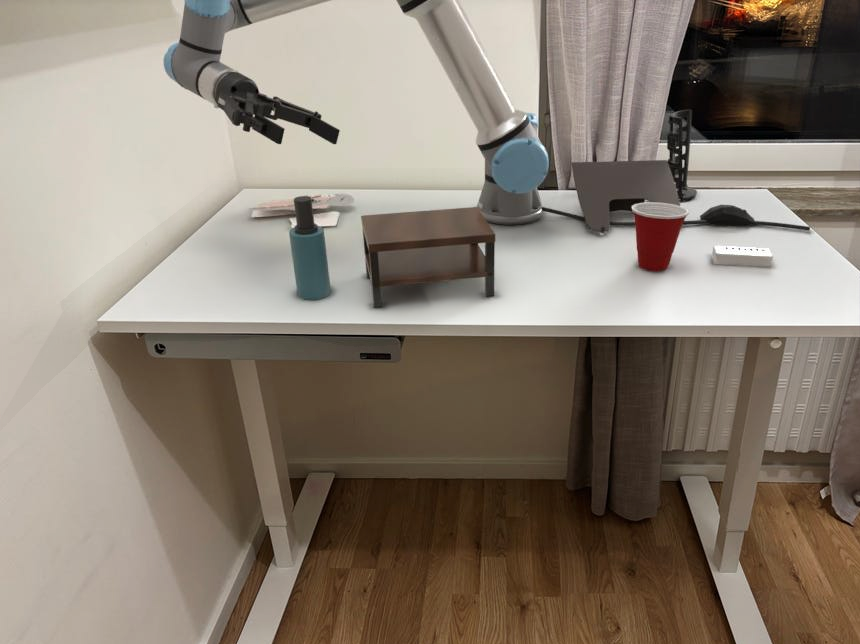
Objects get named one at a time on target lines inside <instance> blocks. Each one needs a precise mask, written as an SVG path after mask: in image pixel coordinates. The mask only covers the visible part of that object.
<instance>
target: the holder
mask: <svg viewBox="0 0 860 644" xmlns="http://www.w3.org/2000/svg"><path fill="white" fill-rule="evenodd" d="M683 118H686V124H685V125H683ZM692 119H693V110H692V109H683V110H678V111H674V112H673V113H671V114H670V115H669V116H668V121H667V123H668V124H669V132H668V133H667V134H666V135H667V137H666V139H667V140H666V143H667V144H666V149H667V150H668V152H669V154H668V155H669V157H668V159H667V162H668V165H669V167H670V170H671V173H672V176H673V179H674V183H675V186H676V190H677V194H678V197H679V201H680V202H687V201H689V200H691V199H693V198H695V197H696V196H697V194H698V191H697V189H695V188H693V187H690V186H688V175H689V162H690V149H691V137H692V135H691V134H692V123H693V122H692V121H693V120H692ZM677 126H678V127H677ZM684 132H685V139H683V133H684ZM683 147H685V149H684V153H683ZM683 161H684V162H683ZM677 175H678V177H677Z"/></svg>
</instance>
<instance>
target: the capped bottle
mask: <svg viewBox="0 0 860 644" xmlns="http://www.w3.org/2000/svg"><path fill="white" fill-rule="evenodd" d="M293 200H294V207H295V218H296V222H297V225H296V226H295V227H294V228H291V229H290V230H289V231H288V234H289V235H288V236H289V242H290V250H291V257H292V265H293V271H294V278H295V279H294V280H295V286H296V287H295V288H296V293H297V296H298V297H299V299H302V300H308V301H316V300H320V299H324V298H326V297H328V296H330V295H331V293H332V291H331V283H330V282H331V281H330V274H329V264H328V254H327V245H326V236H325V229H324V228H323V226H317V224H315V223H314V216H313V215H314V211H313V208H312V199H311V197H310V195H308V196H306V195H300V196H296V197H294V198H293Z"/></svg>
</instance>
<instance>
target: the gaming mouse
mask: <svg viewBox="0 0 860 644" xmlns="http://www.w3.org/2000/svg"><path fill="white" fill-rule="evenodd" d="M699 218H700V219H699V220H706V221H707V223H708V224H707V225H710V226H716V227H736V228H738V227H739V228H740V227H741V228H745V227H751V226H752V224H753V222H754V221H756V219H755V218H754V217H753V216H752V215H750V214H749V212H748V211H747V209H745V208H744V209H743V208H742V207H738V206H736V205H734V204H733V205H732V204H718V205H716V206H713V207H709V208H708V209H707V210H706V211H705V212H703V213H702V214H701V215H700V216H699Z"/></svg>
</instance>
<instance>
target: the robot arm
mask: <svg viewBox="0 0 860 644" xmlns="http://www.w3.org/2000/svg"><path fill="white" fill-rule="evenodd" d="M330 1H332V0H184V5H183V13H182V20H181V27H180V28H181V29H180V34H179V35H180V36H179V40H178V42H175V43H173V44H171V45H170V46H169V47H168V50H167V51H166V53H164V56H163V69H164V71H165V73H166V75H167V76H168V77H169V79H171V80H172V81H174V82H175V83H177V85H179V86H180V87H181V88H183V89H184V90H187V91H189V92H190V93H193V94H195V95H196V96H198V97H200V98H201V99H203V100H205V101H207V102H208V103H210V104H212V105H213V108H215V109H220V110H222V111H223V112H224V113H225V115H226V116H227V118H228V119H229V121H230V122H231V124H232V125H234V126H236V127H240V126H241V125H243V126H242V131H244V132H247V133H250V132H251V130H253V131H254V132H256V133H258V134H260V135H262V136H263V137H265V138H266V139H268V140H270V141H272V142H273V143H275V144H277V145H282V143H283V138H284V134H285V127H283V126H281V125H279V124H277V123H276V122H274V121H277V120H282V121H284V122H288V123H291V124H295V125H297V126H301V127H304V128H307V129H308V131H309V132H311V133H313V134H315V135H316V136H318V137H320V138H321V139H323V140H325V141H326V142H329V143H330V144H332V145H337V144H338V140H339V135H340V133H341V129H339V128H337V127H336V126H333V125H332V124H330V123H328V122H327V121H325V120H322V114H320V113H319V112H318V111H317V110H316V111H312V110H309V109H306V108H304V107H302V106H299V105H296V104H294V103H291V102H289V101H287V100H285V99H282V98H280V97H278V96H274V95H273V96H272V97H270V96H267V94H264V93H260V91H259V87H258V84H257V83H256V82H255V81H254V80H253V79H251V78H250V77H248V76H246V75H245V74H243V73H241V72H239V71H238V70H236V69H234V68H232V67H231V66H229V65H227V64H225V63H223V62H221V56H222V53H223V52H222V51H223V45H224V41H225V40H224V39H225V34H227V33H228V32H231V31H234V30H237V29H241V28H243V27H246V26H250V25H252V24H253V25H254V24H256V23H259V22H263V21H265V20H266V21H267V20H269V19H273V18H276V17H280V16H284V15H287V14H290V13H294V12H296V11H299V10H303V9H307V8H310V7H314V6H317V5H321V4H324V3H328V2H330ZM396 3H397V4H398V6H399V7H400V10H401V11H402V13H403V15H404V16H407V17H410V18H413V19H415V20H416V21H417V24H418V25H419V28H420V29H421V31H422V33H423V34H424V36H425V38H426V39H427V41H428V43H429V46H430V47H431V49H432V51H433V52H434V54H435V56H436V58H437V59H438V61H439V63H440V65H441V67H442V68H443V70H444V72H445V74H446V76H447V77H448V80H449V81H450V83H451V85H452V87H453V88H454V90H455V92H456V94H457V96H458V98H459V99H460V102H461V103H462V105H463V107H464V108H465V110H466V112H467V114H468V116H469V118H470V119H471V121H472V123H473V125H474V126H475V129H476V130H477V135H476V137H475V144H476V146H477V147H478V149H479V152H480V153H481V154H482V157H483V158H484V183H483V186H482V189H481V192H480V195H479V198H478V201H477V205H476V207H477V208H478V210H479V211H480V213H481V214H482V215H483V217H484V218H485V220H486V221H487V223H491V224H495V225H505V226H516V225H517V226H518V225H526V224H530V223H534V222H536V221H538V220H540V219H541V218H542V216H543V212H545V213H550V214H554V215H559V216H563V217H566V218H570V219H575V220H579V221H583V222H586V221H585V218H584V216H582V215H578V214H575V213H569V212H566V211H562V210H559V209H558V210H557V209H553V208H550V207H544V206H543V203H542V200H541V196H540V194H539V189H538V187H539V186H540V185H542V183H543V182H544V180H545V179H546V177H547V175H548V172H549V165H550V163H549V162H550V161H549V159H550V157H549V153H548V151H547V149H546V147H545V146H544V145H543V144H542V142H541V140H540V138H539V136H538V128H539V121H538V116H537V114H535V113H533V112H526V111H523V110H520V109H516V107H515V106H514V104H513V102H512V100H511V98H510V96H509V94H508V93H507V90H506V88H505V86H504V85H503V83H502V81H501V79H500V77H499V75H498V73H497V71H496V69H495V67H494V66H493V65H494V64H493V63H492V62H491V59H490V57H489V56H488V54H487V52H486V49H485V48H484V45H483V44H482V42H481V40H480V38H479V36H478V34H477V32H476V31H475V28H474V27H473V25H472V23H471V21H470V19H469V17H468V15H467V13H466V11H465V10H464V7H463V5H462V4H461V1H460V0H396ZM272 113H273V114H272ZM272 120H273V121H272ZM686 225H687V226H689V225H691V226H692V225H709V224H708V223H707V221H706V220H701V219H699V220H698V219H697V220H684V222H683V225H682V226H686ZM752 225H753V226H766V227H777V228H786V229H794V230H800V231H808V232H809V231H810V230H811V226H807V225H799V224H792V223H785V222H784V223H783V222H773V221H764V220H763V221H762V220H755V221H754V222H753V224H752ZM752 225H751V226H752ZM610 226H614V227H615V226H617V227H636V226H635V221H611V220H610Z"/></svg>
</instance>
